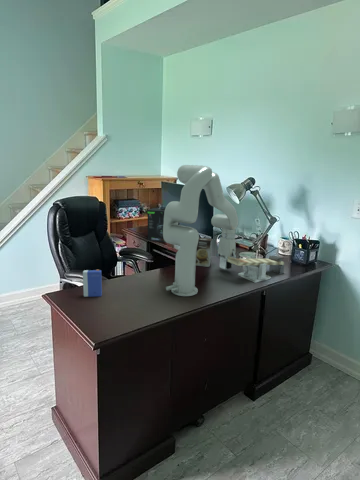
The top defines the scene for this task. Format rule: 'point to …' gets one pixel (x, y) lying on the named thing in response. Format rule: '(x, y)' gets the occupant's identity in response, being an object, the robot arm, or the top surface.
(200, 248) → the coffee box
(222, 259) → the block
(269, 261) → the beam
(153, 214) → the headset box
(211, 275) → the top surface
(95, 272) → the walkman
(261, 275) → the beam stand
